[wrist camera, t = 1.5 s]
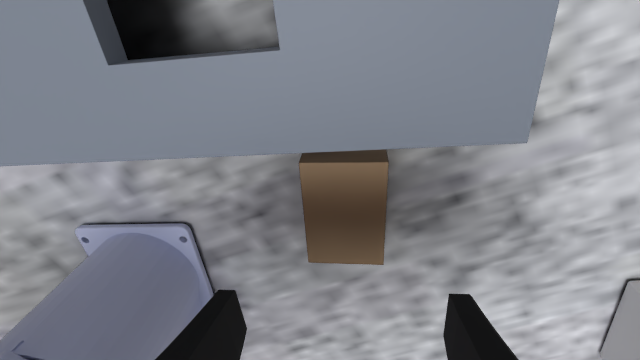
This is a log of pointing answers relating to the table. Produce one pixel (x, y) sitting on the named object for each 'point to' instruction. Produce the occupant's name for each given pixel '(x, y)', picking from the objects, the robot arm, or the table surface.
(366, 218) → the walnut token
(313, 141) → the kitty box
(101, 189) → the table surface
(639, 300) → the milk carton
